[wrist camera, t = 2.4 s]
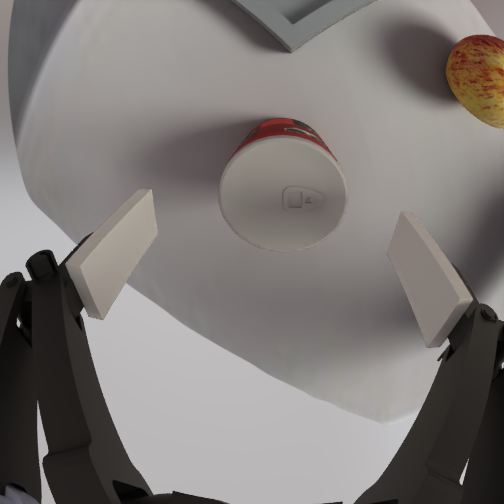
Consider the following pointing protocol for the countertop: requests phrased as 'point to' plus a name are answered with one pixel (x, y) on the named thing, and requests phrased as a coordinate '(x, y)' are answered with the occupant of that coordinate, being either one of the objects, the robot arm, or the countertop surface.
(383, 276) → the countertop surface
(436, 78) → the countertop surface
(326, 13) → the tray
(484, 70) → the apple
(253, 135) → the canned food
